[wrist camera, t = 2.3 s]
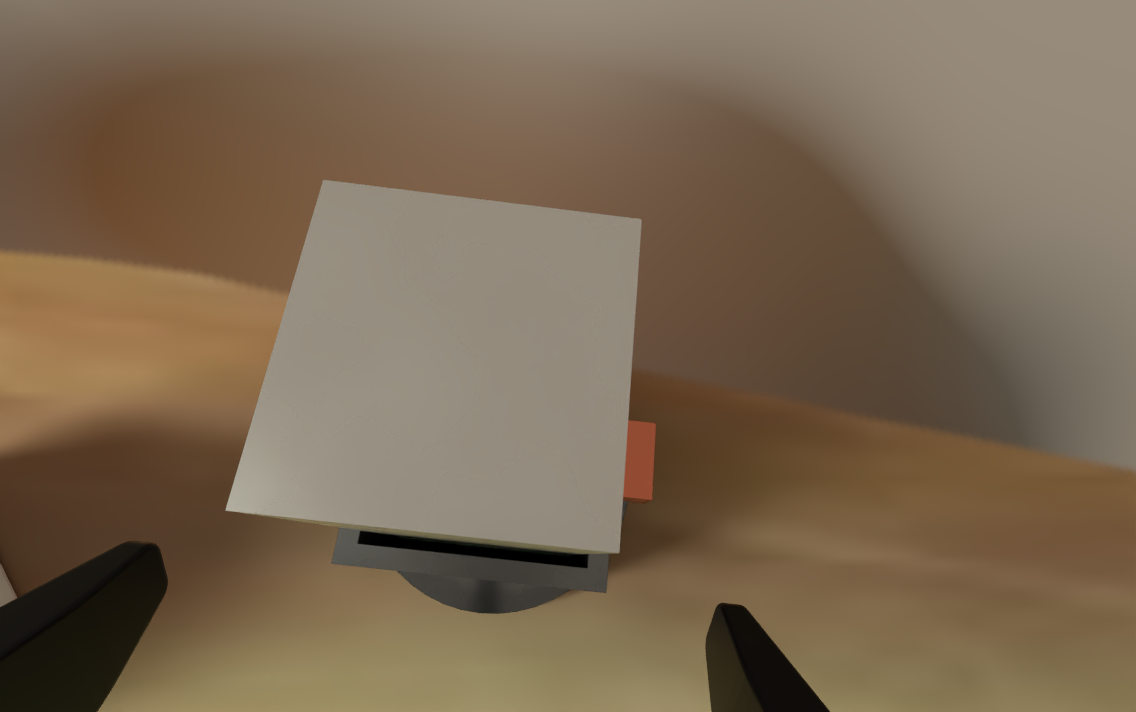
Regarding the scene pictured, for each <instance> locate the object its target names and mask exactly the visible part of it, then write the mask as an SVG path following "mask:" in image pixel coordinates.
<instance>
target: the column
mask: <svg viewBox="0 0 1136 712" xmlns="http://www.w3.org/2000/svg"><path fill="white" fill-rule="evenodd" d="M640 234H641V219H635V218H627V217H619V216H611V215H602V214H594V213H586V212H577V211H570V210H562V209H554V208H546V207H538V206H530V205H521V204H514V203H505V202H497V201H488V200H481V199H473V198H464V197H457V196H449V195H441V194H433V193H424V192H417V191H409V190H401V189H393V188H384V187H376V186H368V185H360V184H352V183H344V182H336V181H327V180H323V183H322V187H321V190H320V193H319V196H318V200H317V203H316V207H315V210H314V213H313V217H312V220H311V223H310V227H309V230H308V234H307V237H306V240H305V244H304V247H303V250H302V254H301V257H300V261H299V264H298V267H297V271H296V274H295V277H294V281H293V284H292V288H291V291H290V294H289V298H288V301H287V304H286V308H285V311H284V314H283V318H282V321H281V324H280V328H279V331H278V335H277V338H276V341H275V345H274V348H273V351H272V355H271V358H270V362H269V365H268V368H267V372H266V375H265V378H264V382H263V385H262V388H261V392H260V395H259V399H258V402H257V405H256V409H255V412H254V415H253V419H252V422H251V426H250V429H249V432H248V436H247V439H246V442H245V446H244V449H243V452H242V456H241V459H240V463H239V466H238V469H237V473H236V476H235V479H234V483H233V486H232V490H231V493H230V496H229V500H228V503H227V506H226V510H225V511H232V512H238V513H245V514H252V515H259V516H266V517H272V518H279V519H286V520H293V521H299V522H306V523H313V524H320V525H326V526H333V527H340V528H347V529H354V530H360V531H367V532H374V533H381V534H387V535H394V536H398V538H402V539H411V540H420V541H430V542H439V543H448V544H457V545H467V546H476V547H485V548H494V549H504V550H513V551H522V552H532V553H541V554H550V555H559V556H570V554H608V553H619V551H620V536H621V521H622V506H623V491H624V476H625V461H626V446H627V431H628V416H629V401H630V386H631V371H632V356H633V340H634V325H635V310H636V294H637V280H638V265H639V250H640Z"/></svg>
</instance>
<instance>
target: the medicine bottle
mask: <svg viewBox="0 0 1136 712" xmlns="http://www.w3.org/2000/svg"><path fill="white" fill-rule="evenodd" d="M16 598H17V596H16V594H15V592H14V590H13V588H12V586H11V584H10V582H9V580H8V578H7V575H6V573H5V571H4V569H3V567H2V565H1V563H0V607H1V606H3V605H5V604H7V603H9V602H10V601H12V600H14V599H16Z"/></svg>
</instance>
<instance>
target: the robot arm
mask: <svg viewBox="0 0 1136 712" xmlns="http://www.w3.org/2000/svg"><path fill="white" fill-rule="evenodd" d="M167 585H168V578H167V574H166V570H165V567H164V563H163V559H162V555H161V552H160V549H159V547H158V546H157V545H156V544H154V543H149V542H140V541H128V542H124V543H122V544H120V545H118V546H116V547H114V548H112V549H110V550H108V551H107V552H105V553H103V554H101V555H99V556H97V557H95V558H93V559H91V560H89V561H87V562H85V563H84V564H82V565H80V566H78V567H76V568H74V569H72V570H70V571H68V572H66V573H64V574H62V575H60V576H59V577H57V578H55V579H53V580H51V581H49V582H47V583H45V584H43V585H41V586H39V587H37V588H35V589H34V590H32V591H30V592H28V593H26V594H24V595H22V596H20V597H18V598H16V599H14V600H12V601H10V602H9V603H7V604H5V605H3V606H1V607H0V712H97V711H98V710H99V708H100V707H101V705H102V704H103V702H104V701H105V699H106V698H107V696H108V694H109V693H110V691H111V690H112V688H113V686H114V685H115V683H116V681H117V679H118V678H119V676H120V674H121V673H122V671H123V669H124V667H125V665H126V664H127V662H128V660H129V658H130V656H131V655H132V653H133V651H134V649H135V647H136V646H137V644H138V642H139V640H140V639H141V637H142V635H143V633H144V631H145V630H146V628H147V626H148V624H149V622H150V621H151V619H152V617H153V615H154V613H155V612H156V610H157V608H158V606H159V604H160V603H161V601H162V599H163V597H164V595H165V593H166V590H167ZM706 661H707V671H708V681H709V691H710V701H711V711H712V712H830V711H829V710H828V708H827V707H826V706H825V705H824V704H823V702H822V701H821V700H820V699H819V697H818V696H817V695H816V694H815V692H814V691H813V690H812V689H811V687H810V686H809V685H808V684H807V683H806V681H805V680H804V679H803V678H802V676H801V675H800V674H799V673H798V671H797V670H796V669H795V668H794V666H793V665H792V664H791V663H790V662H789V660H788V659H787V658H786V657H785V655H784V654H783V653H782V652H781V650H780V649H779V648H778V647H777V645H776V644H775V643H774V642H773V641H772V639H771V638H770V637H769V636H768V634H767V633H766V632H765V631H764V629H763V628H762V627H761V626H760V624H759V623H758V622H757V621H756V620H755V618H754V617H753V616H752V615H751V613H750V612H749V611H748V610H747V609H746V608H745V607H744V606H742V605H737V604H728V603H720V604H718V605H717V607H716V609H715V612H714V615H713V618H712V621H711V624H710V627H709V630H708V633H707V637H706Z"/></svg>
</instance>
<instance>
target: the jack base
mask: <svg viewBox="0 0 1136 712" xmlns="http://www.w3.org/2000/svg"><path fill="white" fill-rule="evenodd" d="M655 433H656V423H648V422H640V421H631V420H628V431H627V446H626V461H625V476H624V491H623V506H622V520H623V517H624V514H625V510H626V506H627V502H637V503H646V502H649V501H651V500H652V493H653V473H654V453H655ZM621 523H622V521H621ZM608 563H609V553H608V554H570V556H559V555H550V554H541V553H532V552H522V551H513V550H504V549H494V548H485V547H476V546H467V545H457V544H448V543H439V542H430V541H420V540H411V539H402V538H398V536H394V535H387V534H381V533H374V532H367V531H360V530H354V529H347V528H339V532H338V537H337V541H336V545H335V550H334V554H333V559H332V563H331V564H339V565H349V566H358V567H368V568H377V569H386V570H396V571H398V572H399V573H400V574H401V575H402V576H403V577H404V578H405V579H406V580H407V581H408V582H409V583H410V584H411V585H413V586H414V587H416V588H417V589H418V590H420V591H421V592H423V593H424V594H425V595H427V596H429V597H431V598H433V599H435V600H437V601H439V602H441V603H443V604H445V605H448V606H451V607H454V608H457V609H460V610H466V611H471V612H477V613H495V614H499V613H508V612H517V611H521V610H525V609H529V608H533V607H536V606H539V605H541V604H543V603H546V602H548V601H551V600H553V599H555V598H556V597H558V596H560V595H562V594H563V593H565V592H567V591H569V590H570V589H574V590H584V591H593V592H603V593H606V590H607V576H608Z"/></svg>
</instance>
